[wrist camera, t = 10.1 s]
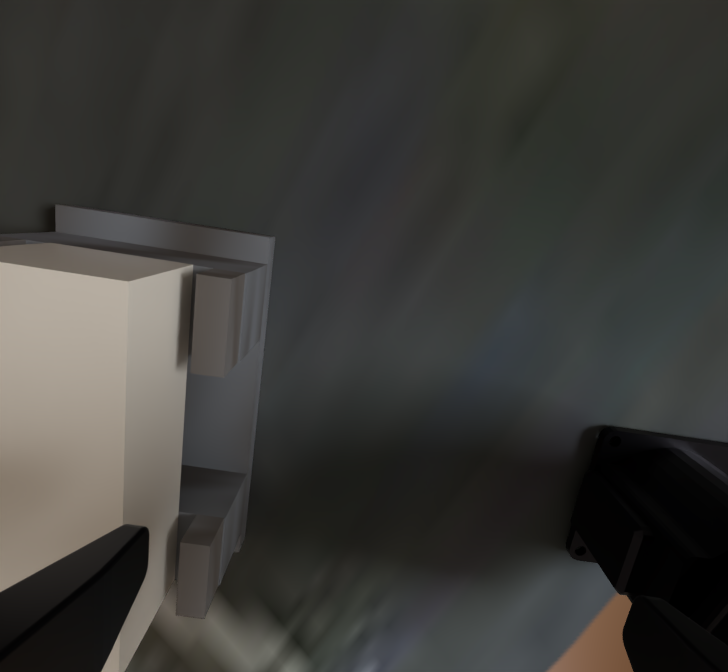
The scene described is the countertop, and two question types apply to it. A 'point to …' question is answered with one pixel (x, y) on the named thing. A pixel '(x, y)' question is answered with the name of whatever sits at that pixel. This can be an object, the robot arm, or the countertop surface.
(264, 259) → the dark grey angular piece
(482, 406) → the countertop surface
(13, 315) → the clay block
